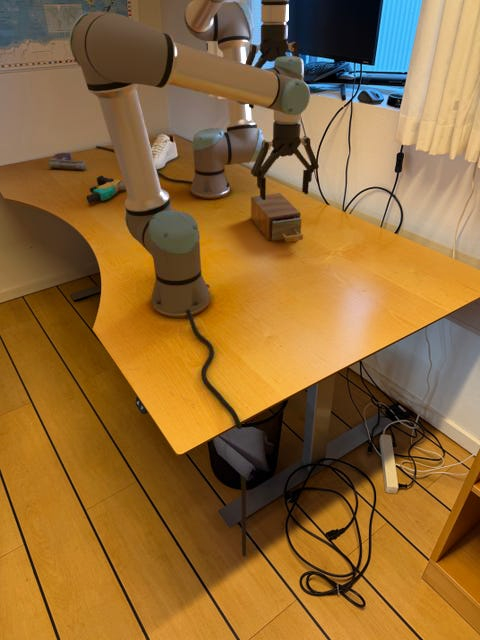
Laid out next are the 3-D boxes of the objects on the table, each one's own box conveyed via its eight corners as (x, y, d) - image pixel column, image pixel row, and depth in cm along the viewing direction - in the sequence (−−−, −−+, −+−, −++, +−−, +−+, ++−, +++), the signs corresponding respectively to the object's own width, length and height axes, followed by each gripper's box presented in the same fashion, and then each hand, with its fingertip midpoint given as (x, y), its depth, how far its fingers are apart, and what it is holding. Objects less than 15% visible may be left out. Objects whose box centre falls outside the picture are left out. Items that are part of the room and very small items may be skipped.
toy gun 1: (97, 161, 222) (82, 172, 210) (61, 159, 225) (44, 169, 213) (96, 153, 220) (81, 163, 208) (59, 151, 223) (42, 161, 211)
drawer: (308, 244, 149) (309, 227, 146) (280, 249, 147) (280, 231, 144) (281, 216, 167) (281, 199, 164) (255, 219, 165) (255, 203, 161)
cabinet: (299, 235, 157) (300, 213, 152) (268, 240, 154) (269, 217, 150) (279, 214, 171) (279, 193, 166) (250, 218, 168) (250, 196, 164)
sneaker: (133, 173, 208) (129, 144, 201) (161, 153, 230) (158, 127, 223) (155, 175, 205) (151, 146, 198) (180, 155, 227) (178, 129, 220)
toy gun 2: (64, 190, 179) (94, 197, 174) (109, 170, 198) (138, 176, 192) (66, 201, 182) (96, 209, 176) (111, 181, 200) (139, 187, 195)
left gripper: (322, 113, 136) (317, 186, 148) (239, 121, 130) (240, 196, 143) (334, 120, 130) (327, 194, 143) (247, 128, 124) (248, 205, 137)
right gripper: (310, 20, 137) (305, 100, 150) (227, 24, 132) (229, 106, 144) (321, 22, 132) (315, 104, 144) (235, 26, 126) (236, 111, 138)
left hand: (284, 195), depth 143 cm, fingers open, 13 cm apart
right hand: (272, 105), depth 144 cm, fingers open, 13 cm apart
